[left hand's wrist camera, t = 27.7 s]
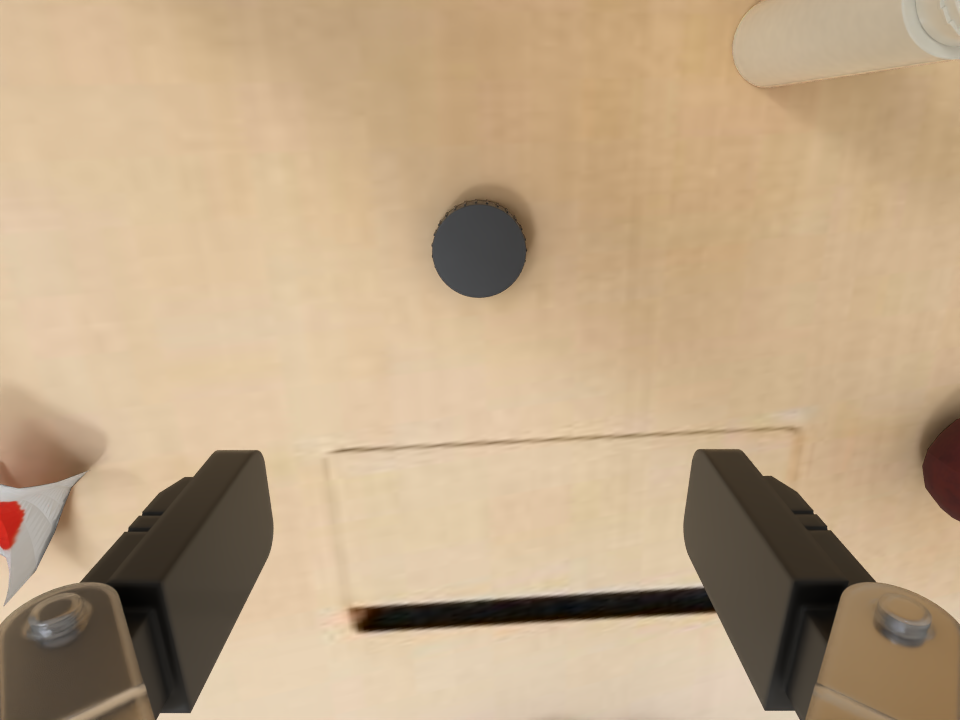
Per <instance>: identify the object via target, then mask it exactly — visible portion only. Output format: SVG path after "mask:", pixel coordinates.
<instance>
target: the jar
mask: <svg viewBox="0 0 960 720" xmlns="http://www.w3.org/2000/svg"><path fill="white" fill-rule="evenodd" d="M732 49H733V59H734V63H735V66H736V68H737V70H738V72H739V73H740V75H741V76H742V77H743V78H744V79H745V80H746V81H747V82H749V83H750V84H752V85H755V86H758V87H762V88H773V87H780V86H786V85H793V84H800V83H806V82H813V81H820V80H826V79H833V78H840V77H846V76H853V75H860V74H866V73H873V72H880V71H886V70H893V69H900V68H906V67H913V66H920V65H926V64H933V63H940V62H946V61H953V60H960V0H762V1H760V2H758V3H757V4H755V5H754V6H753V7H752V8H751V9H750V10H749V11H748V12H747V13H746V14H745V15H744V17H743V18H742V20H741V21H740V23H739V25H738V27H737V29H736V32H735V35H734V40H733V48H732Z"/></svg>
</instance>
